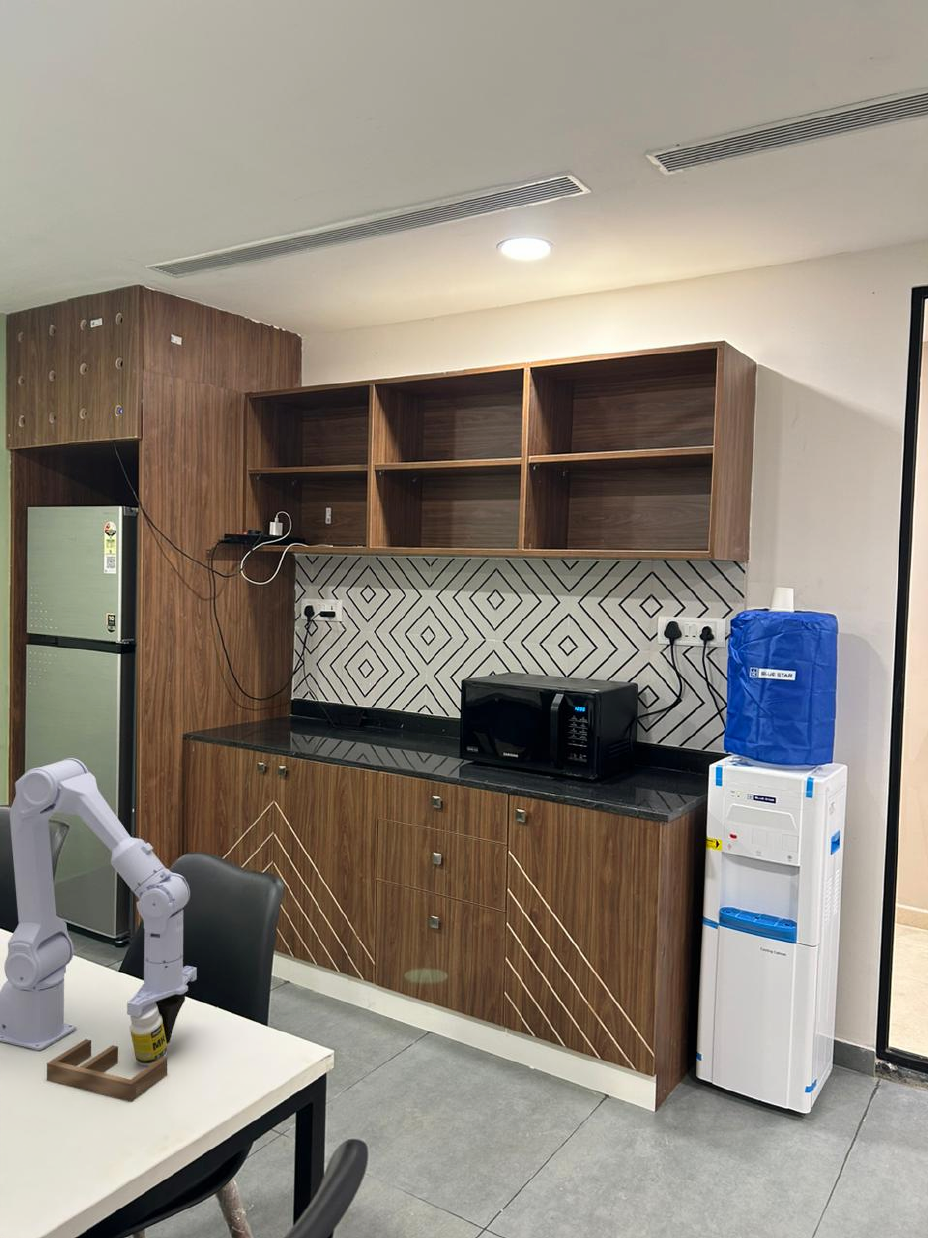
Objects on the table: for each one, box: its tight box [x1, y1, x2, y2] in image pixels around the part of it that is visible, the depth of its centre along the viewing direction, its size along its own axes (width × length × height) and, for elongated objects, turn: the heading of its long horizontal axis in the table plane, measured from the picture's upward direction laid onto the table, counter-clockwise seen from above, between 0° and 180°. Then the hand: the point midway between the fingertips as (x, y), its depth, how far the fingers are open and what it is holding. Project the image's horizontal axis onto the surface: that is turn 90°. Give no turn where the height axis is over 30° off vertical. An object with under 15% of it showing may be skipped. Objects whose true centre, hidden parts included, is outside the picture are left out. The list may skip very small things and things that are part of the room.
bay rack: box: [46, 1038, 168, 1103], centre depth 140 cm, size 15×8×2 cm, turn 70°
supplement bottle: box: [129, 1002, 169, 1066], centre depth 145 cm, size 5×5×8 cm
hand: (162, 1042), depth 148 cm, fingers closed, pressing on supplement bottle
